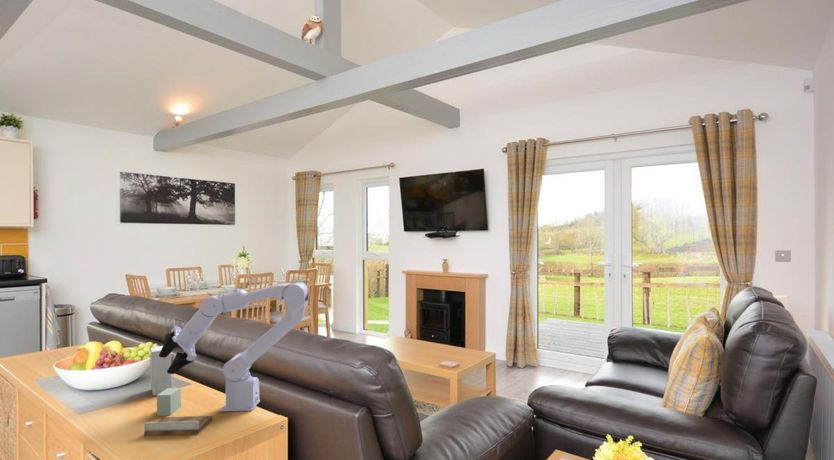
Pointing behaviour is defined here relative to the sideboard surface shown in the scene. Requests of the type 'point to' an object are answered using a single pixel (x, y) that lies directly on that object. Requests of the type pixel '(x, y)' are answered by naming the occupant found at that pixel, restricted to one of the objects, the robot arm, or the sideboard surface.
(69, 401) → the sideboard surface
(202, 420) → the shelf board
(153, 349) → the skincare box
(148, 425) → the rail
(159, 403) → the product carton
